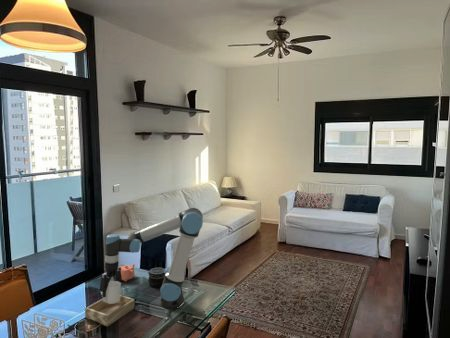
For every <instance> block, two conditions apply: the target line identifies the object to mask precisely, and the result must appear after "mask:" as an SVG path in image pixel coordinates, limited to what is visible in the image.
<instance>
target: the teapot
mask: <svg viewBox="0 0 450 338" xmlns="http://www.w3.org/2000/svg"><path fill="white" fill-rule="evenodd" d="M135 265H136V262H135V263H133V264H132V265H128V264H127V265H124V266H121V265H118V267H121V278H122V282H123V281H124V282H125V283H126V282H128V281H129V280H133V278H134V277H135V275H136V274H135Z"/></svg>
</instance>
